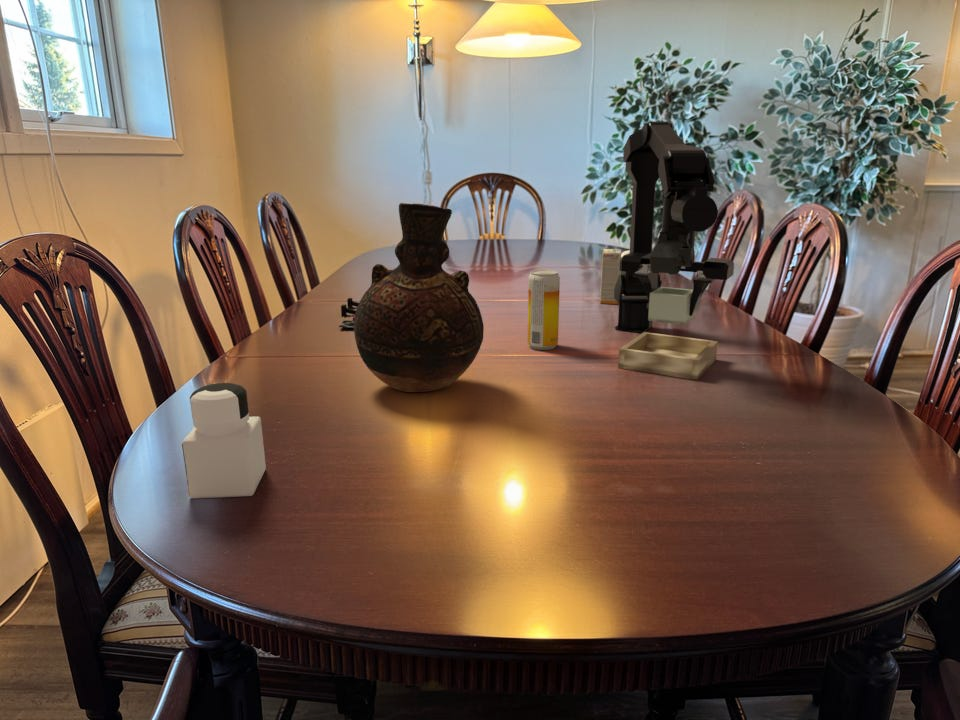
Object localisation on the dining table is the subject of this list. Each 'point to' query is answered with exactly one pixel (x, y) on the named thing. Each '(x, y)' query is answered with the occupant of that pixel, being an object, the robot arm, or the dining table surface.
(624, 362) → the tray
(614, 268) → the supplement box
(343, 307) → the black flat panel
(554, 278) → the beer can
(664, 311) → the sage crate
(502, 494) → the dining table surface
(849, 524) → the dining table surface
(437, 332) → the ceramic vessel
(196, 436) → the medicine bottle
